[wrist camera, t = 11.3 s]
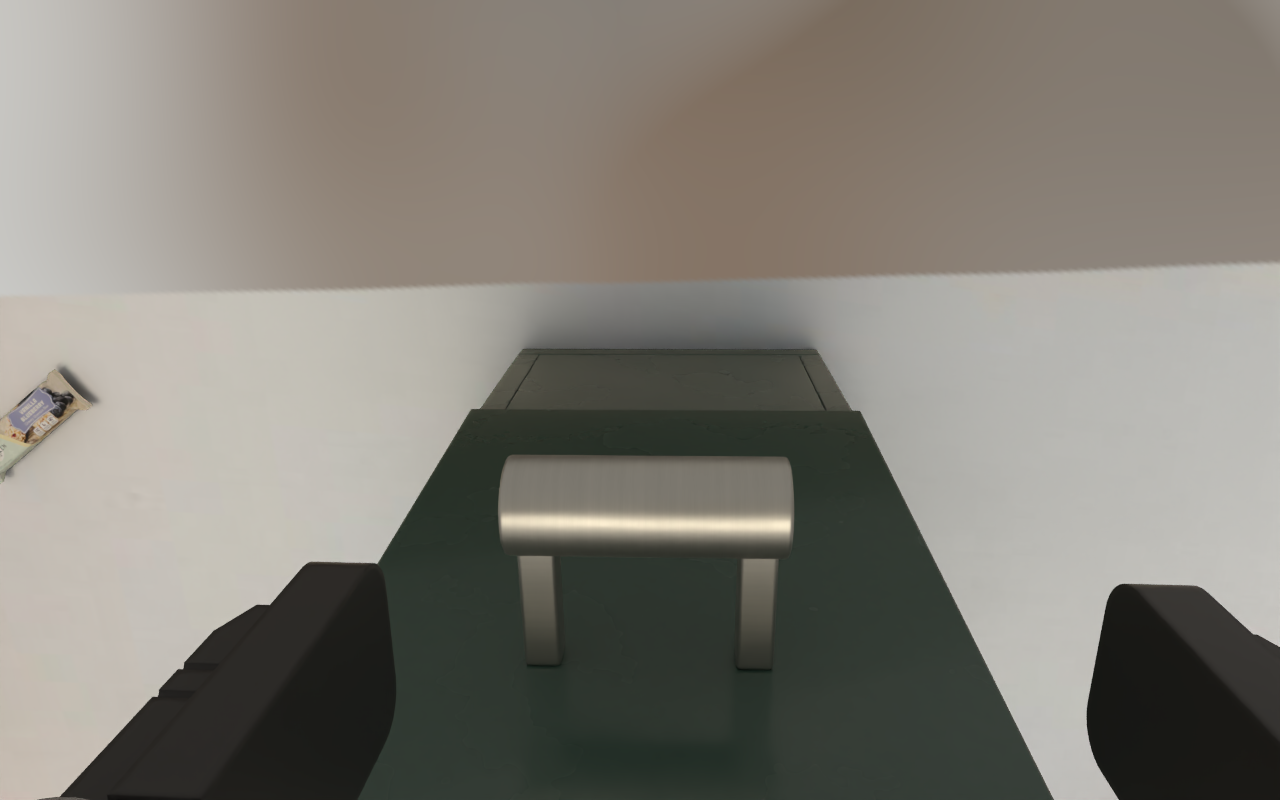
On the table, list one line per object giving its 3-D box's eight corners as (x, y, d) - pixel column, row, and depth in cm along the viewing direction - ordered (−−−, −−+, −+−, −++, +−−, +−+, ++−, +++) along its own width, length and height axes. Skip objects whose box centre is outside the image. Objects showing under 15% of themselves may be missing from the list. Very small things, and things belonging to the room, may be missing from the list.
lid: (1068, 882, 13) (1134, 601, 11) (230, 856, 13) (161, 585, 12) (858, 432, 28) (871, 283, 26) (472, 430, 29) (459, 284, 27)
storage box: (800, 663, 42) (829, 801, 33) (539, 658, 42) (503, 792, 34) (817, 349, 37) (856, 416, 29) (521, 348, 38) (475, 415, 29)
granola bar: (6, 481, 41) (-11, 490, 40) (-32, 444, 40) (-50, 453, 39) (99, 402, 39) (84, 409, 38) (61, 363, 39) (45, 369, 38)
